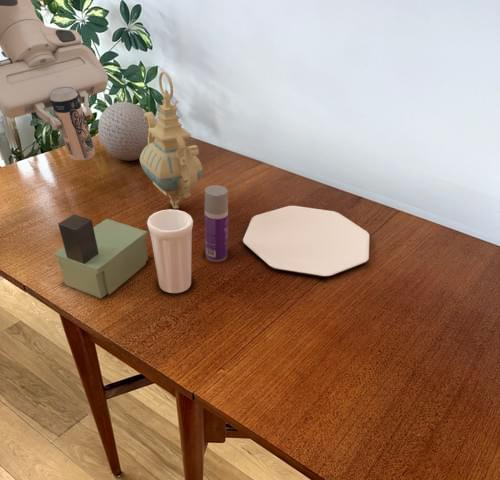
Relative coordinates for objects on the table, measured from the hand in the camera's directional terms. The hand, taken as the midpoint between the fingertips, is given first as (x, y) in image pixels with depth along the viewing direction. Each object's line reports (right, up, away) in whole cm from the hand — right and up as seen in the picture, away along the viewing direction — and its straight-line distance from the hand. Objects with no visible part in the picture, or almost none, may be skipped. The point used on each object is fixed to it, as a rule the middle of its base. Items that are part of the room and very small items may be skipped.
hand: (74, 122), depth 85 cm
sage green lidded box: (+4, -26, +9) cm, 28 cm away
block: (+2, -24, 0) cm, 24 cm away
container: (+25, -22, +15) cm, 36 cm away
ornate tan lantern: (+14, -8, +29) cm, 33 cm away
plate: (+45, -18, +20) cm, 53 cm away
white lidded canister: (0, -5, +5) cm, 7 cm away
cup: (+17, -29, +7) cm, 35 cm away
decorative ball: (-2, +12, +49) cm, 51 cm away
